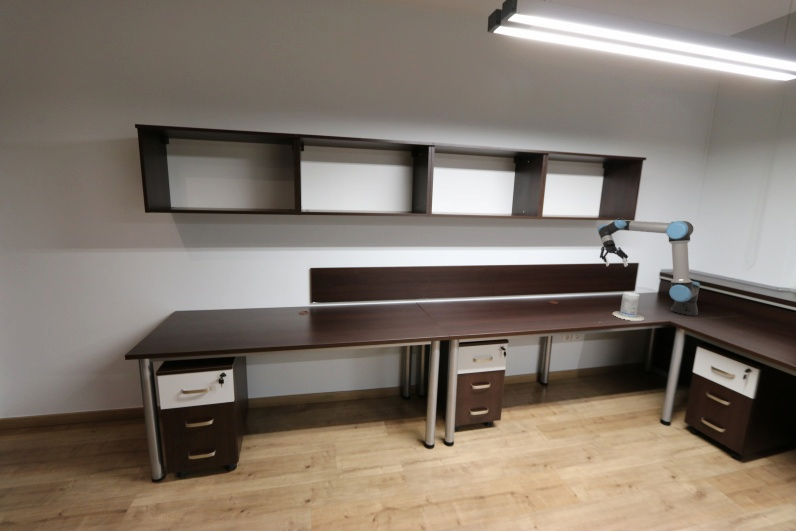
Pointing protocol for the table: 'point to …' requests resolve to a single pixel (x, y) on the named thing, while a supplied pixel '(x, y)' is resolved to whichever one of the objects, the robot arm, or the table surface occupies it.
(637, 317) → the ceramic plate
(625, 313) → the supplement tub
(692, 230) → the robot arm
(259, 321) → the table surface
